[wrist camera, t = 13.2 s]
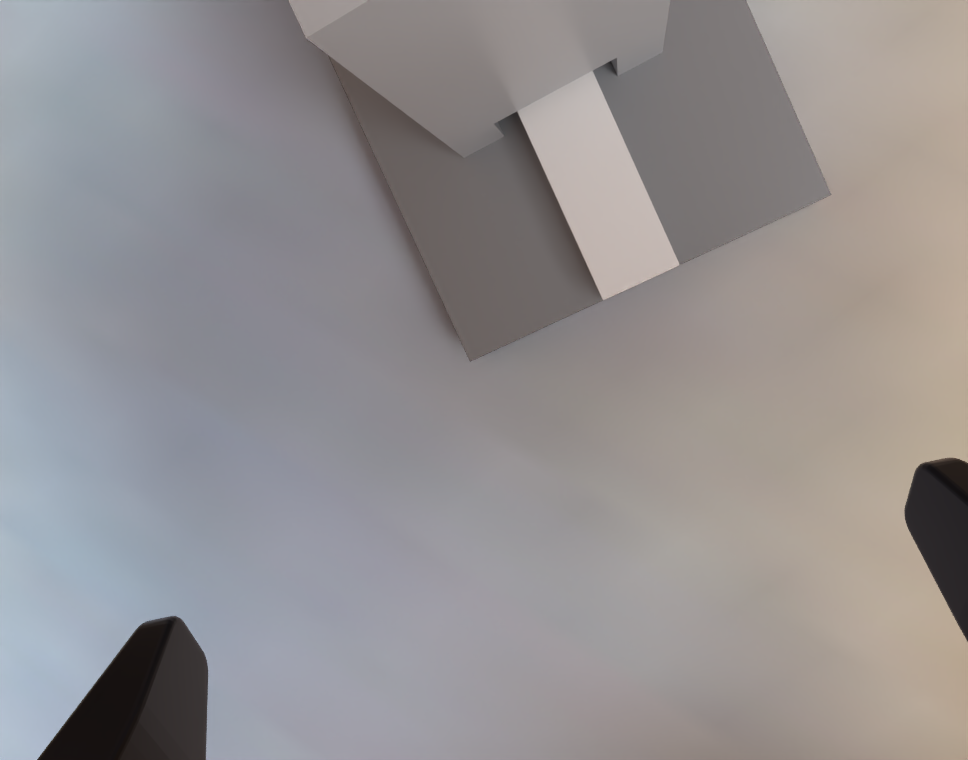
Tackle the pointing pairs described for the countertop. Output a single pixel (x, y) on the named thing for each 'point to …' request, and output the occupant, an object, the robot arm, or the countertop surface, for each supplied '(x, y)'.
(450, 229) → the rail board
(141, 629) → the robot arm
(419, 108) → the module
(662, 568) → the countertop surface
